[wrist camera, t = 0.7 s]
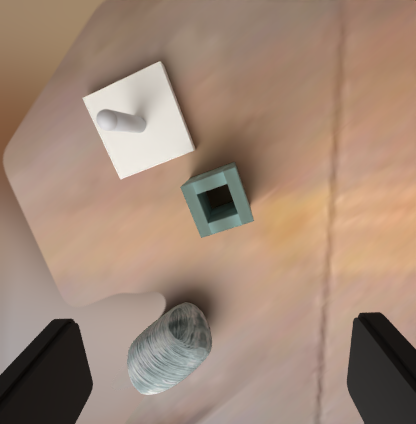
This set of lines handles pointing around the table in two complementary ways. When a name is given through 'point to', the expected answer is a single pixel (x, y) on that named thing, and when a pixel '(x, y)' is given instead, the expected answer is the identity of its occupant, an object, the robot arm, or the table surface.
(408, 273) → the table surface
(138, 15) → the table surface
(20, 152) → the table surface
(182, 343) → the spool
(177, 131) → the white peg stand
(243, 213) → the bead
